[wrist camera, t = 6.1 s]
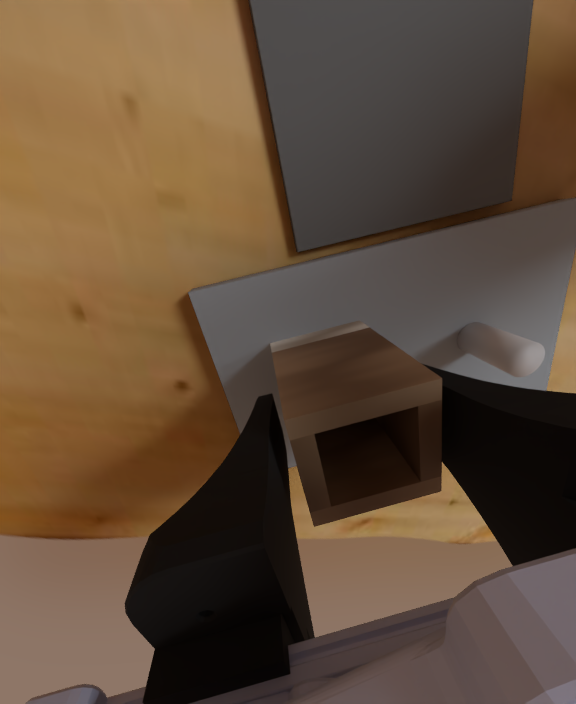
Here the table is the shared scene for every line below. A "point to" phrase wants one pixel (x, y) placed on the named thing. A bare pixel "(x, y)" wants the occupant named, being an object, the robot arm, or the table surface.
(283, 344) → the sleeve
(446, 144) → the mat
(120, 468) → the table surface
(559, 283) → the pin board
